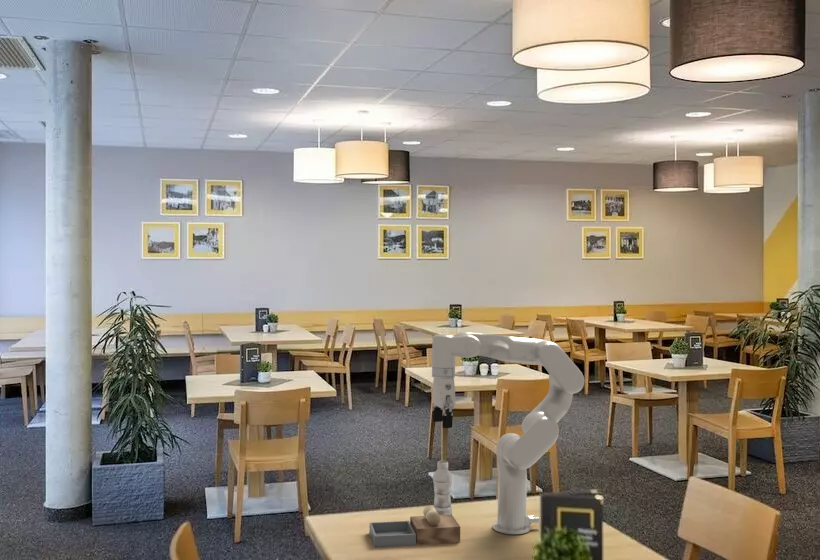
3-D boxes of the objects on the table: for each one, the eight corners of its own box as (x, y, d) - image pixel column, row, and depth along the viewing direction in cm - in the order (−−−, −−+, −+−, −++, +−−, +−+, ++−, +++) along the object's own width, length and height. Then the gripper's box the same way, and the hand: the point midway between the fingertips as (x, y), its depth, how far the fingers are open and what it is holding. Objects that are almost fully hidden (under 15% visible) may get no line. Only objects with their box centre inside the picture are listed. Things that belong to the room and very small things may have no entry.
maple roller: (435, 517, 268) (435, 505, 268) (440, 525, 260) (440, 513, 260) (423, 518, 267) (423, 505, 267) (428, 526, 259) (428, 513, 259)
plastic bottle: (450, 523, 277) (451, 465, 276) (430, 522, 278) (431, 463, 277) (453, 517, 283) (454, 460, 282) (434, 516, 285) (434, 459, 284)
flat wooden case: (451, 529, 271) (451, 514, 271) (460, 542, 259) (460, 526, 259) (410, 531, 269) (410, 516, 268) (416, 544, 257) (416, 528, 257)
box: (408, 531, 269) (408, 520, 269) (415, 545, 256) (416, 534, 256) (369, 533, 267) (369, 522, 267) (374, 547, 254) (374, 536, 254)
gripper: (463, 376, 259) (462, 429, 260) (445, 368, 276) (444, 418, 276) (441, 376, 257) (440, 430, 257) (424, 368, 273) (423, 419, 274)
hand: (442, 424), depth 267 cm, fingers open, 9 cm apart
